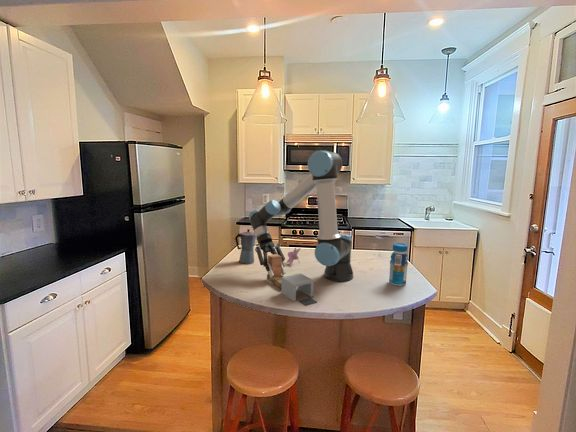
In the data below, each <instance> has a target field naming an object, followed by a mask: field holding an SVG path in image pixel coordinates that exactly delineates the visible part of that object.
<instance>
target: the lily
mask: <svg viewBox="0 0 576 432" xmlns="http://www.w3.org/2000/svg"><path fill="white" fill-rule="evenodd" d="M300 250H301V248H297V247H294V248H293V251H288V252H287V257H288V259H287V260H286V263H287V264H289V267H291V266H292V264H293V262H294V261H296V260H297V261H298V263H300V261H299V256H298V254H299V252H300Z"/></svg>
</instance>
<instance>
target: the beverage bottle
mask: <svg viewBox="0 0 576 432" xmlns="http://www.w3.org/2000/svg"><path fill="white" fill-rule="evenodd" d="M392 251H393V252H392V253H391V254H390V261H389V276H388V277H389V279H388V282H389V284H391V285H393V286H397V285H398V286H399V287H401V286H402V285H403V286H405V285H406V284H407V277H408V276H407V275H408V266H409V262H408V260H409V256H408V254H407V252H408V245H407V244H406V243H401V242H396V243H395V242H394V243H393V244H392ZM398 286H397V287H398Z"/></svg>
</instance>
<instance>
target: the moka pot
mask: <svg viewBox="0 0 576 432" xmlns="http://www.w3.org/2000/svg"><path fill="white" fill-rule="evenodd" d="M238 238H240V245H239V240H238ZM234 240H235V244H236V247H237V250H240V255H239V260H238V261H239V263H241V264H247V265H248V264H253V263H255V254H254V253H255V251H254V250H255V249H254V248H255V244H256V240H257V238H256V236H255V233H254V232H252V231H251V230H250V229H249V228H247V230H246V231H244V232H241V233H237V234H236V235H235V238H234ZM240 246H241V247H240Z"/></svg>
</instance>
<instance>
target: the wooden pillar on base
mask: <svg viewBox="0 0 576 432" xmlns="http://www.w3.org/2000/svg"><path fill="white" fill-rule="evenodd" d="M267 256H268V263H270V266H271V268H272V271H273V274H274V276H273V277H272V278H271V277H270V275H269V272H268V271H267V274H266V279H267V280H269V281H270V282H272V283H274V284H273V285H274V286H277V288H280V289H281V286H282V277H285V276H284V275H283V276H282V273H281V272H282V256H280V255H278V254H274V255H273V254H269V255H268V254H267ZM267 280H266V281H267ZM270 282H269V283H270Z"/></svg>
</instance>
